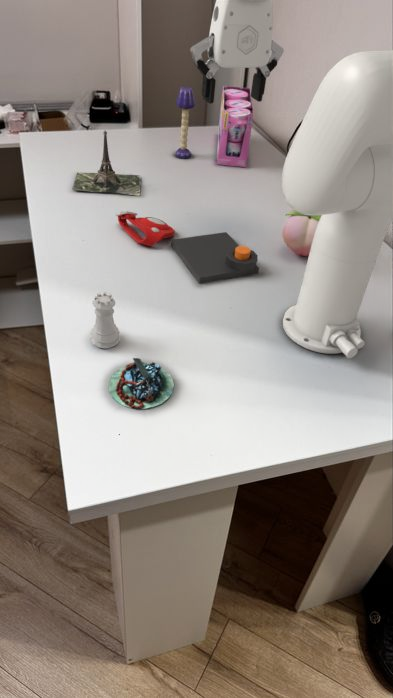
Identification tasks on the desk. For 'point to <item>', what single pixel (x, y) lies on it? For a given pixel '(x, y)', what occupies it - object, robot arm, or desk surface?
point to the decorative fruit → (300, 232)
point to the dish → (141, 385)
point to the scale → (213, 257)
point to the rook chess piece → (104, 322)
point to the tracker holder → (145, 228)
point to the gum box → (234, 126)
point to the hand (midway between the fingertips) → (232, 100)
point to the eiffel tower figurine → (107, 178)
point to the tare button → (242, 253)
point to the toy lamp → (184, 119)
